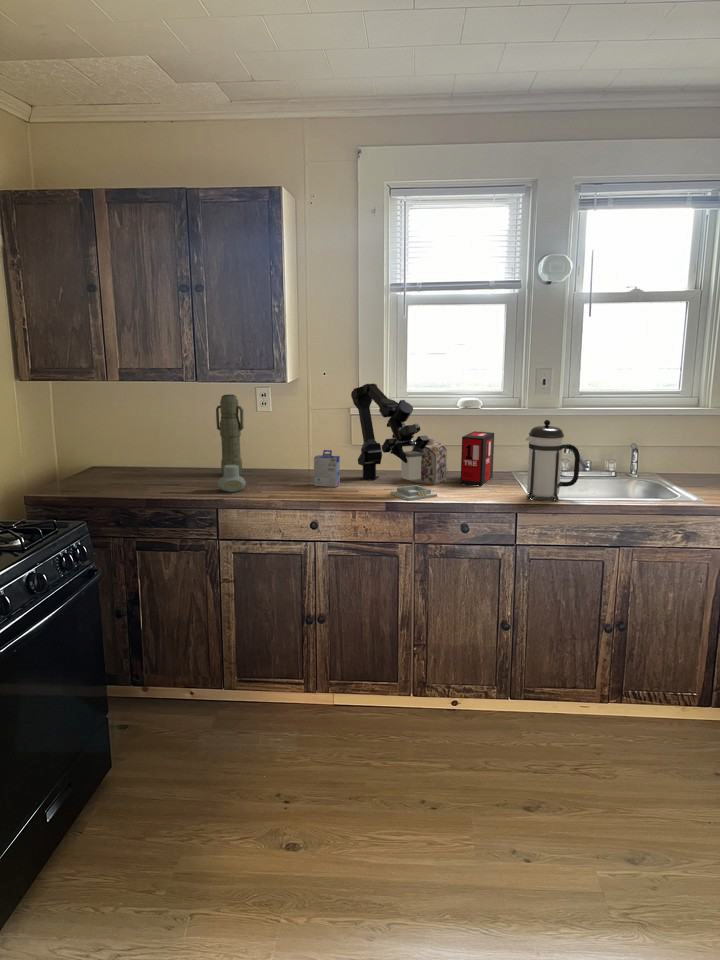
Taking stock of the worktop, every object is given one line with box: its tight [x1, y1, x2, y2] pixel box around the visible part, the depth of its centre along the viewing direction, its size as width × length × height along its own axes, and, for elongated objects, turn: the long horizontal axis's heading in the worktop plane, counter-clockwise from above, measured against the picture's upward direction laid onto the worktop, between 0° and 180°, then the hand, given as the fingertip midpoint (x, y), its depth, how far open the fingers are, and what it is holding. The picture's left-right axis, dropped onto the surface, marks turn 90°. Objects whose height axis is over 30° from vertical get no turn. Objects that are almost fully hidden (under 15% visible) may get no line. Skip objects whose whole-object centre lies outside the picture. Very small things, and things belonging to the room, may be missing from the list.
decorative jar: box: [410, 438, 448, 486], centre depth 294 cm, size 12×12×18 cm
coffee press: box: [524, 419, 581, 501], centre depth 265 cm, size 17×16×30 cm
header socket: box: [390, 484, 438, 502], centre depth 272 cm, size 13×13×2 cm
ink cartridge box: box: [313, 449, 341, 488], centre depth 287 cm, size 10×6×14 cm, turn 78°
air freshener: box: [217, 465, 247, 493], centre depth 278 cm, size 11×8×10 cm
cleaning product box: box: [460, 431, 495, 487], centre depth 293 cm, size 16×9×20 cm, turn 154°
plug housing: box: [400, 450, 422, 481], centre depth 269 cm, size 6×6×10 cm
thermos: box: [215, 394, 245, 477], centre depth 304 cm, size 9×12×35 cm
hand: (413, 461), depth 268 cm, fingers closed on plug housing, 5 cm apart
